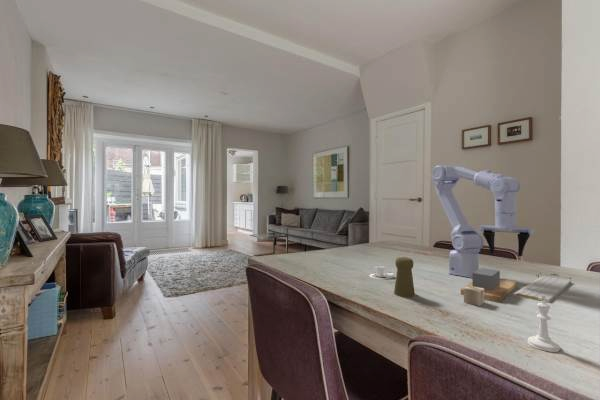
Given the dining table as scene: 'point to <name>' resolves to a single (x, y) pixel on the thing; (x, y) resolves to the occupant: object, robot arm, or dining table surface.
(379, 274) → the teacup and saucer
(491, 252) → the robot arm
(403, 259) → the cork
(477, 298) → the beige cube
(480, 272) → the block
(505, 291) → the board
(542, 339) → the chess piece
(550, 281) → the baseboard
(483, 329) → the dining table surface
